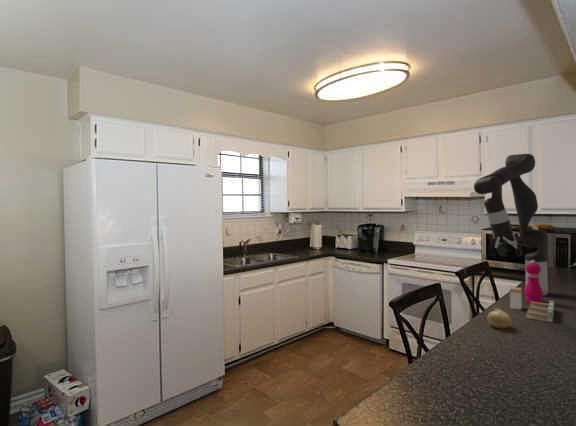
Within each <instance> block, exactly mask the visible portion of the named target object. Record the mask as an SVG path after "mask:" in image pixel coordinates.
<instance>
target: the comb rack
mask: <svg viewBox="0 0 576 426" xmlns="http://www.w3.org/2000/svg"><path fill="white" fill-rule="evenodd" d="M529 304H530V305H529V306H528V309H527V311H526V316H525V317H526V319H529V320H536V321H541V322H548V323H553V320H554V314H555V312H554V311H555V301H554V300H549V302H548V303H544V302H542V303H538V302H529Z"/></svg>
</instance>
